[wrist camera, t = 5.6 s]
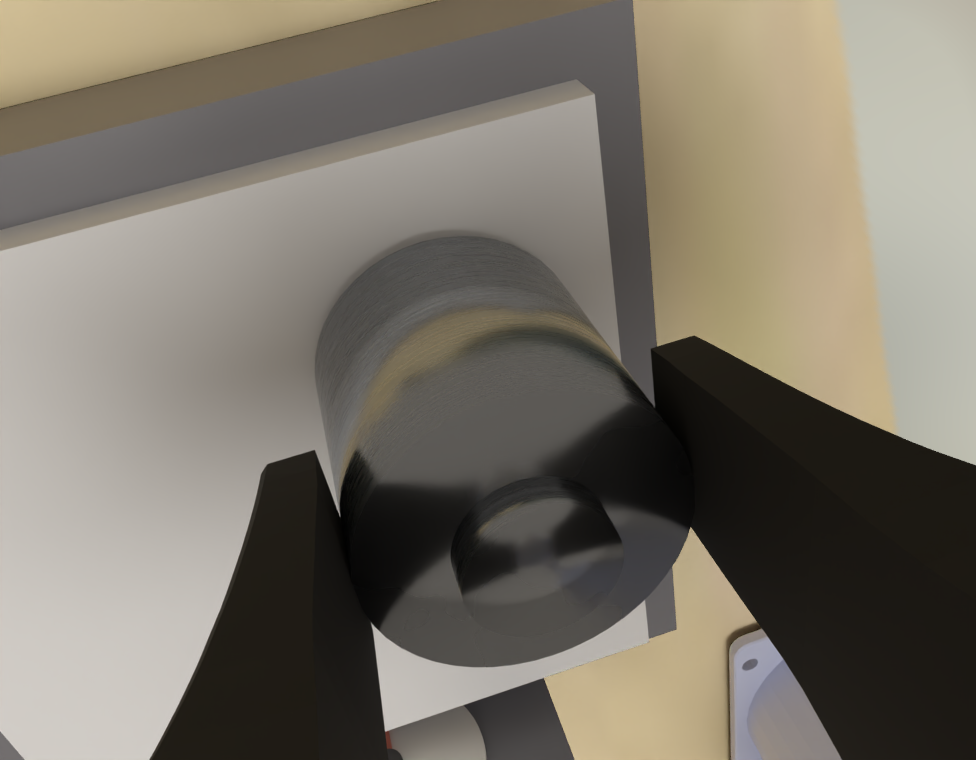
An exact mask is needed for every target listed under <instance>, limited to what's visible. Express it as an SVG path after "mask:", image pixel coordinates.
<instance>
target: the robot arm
mask: <svg viewBox="0 0 976 760" xmlns="http://www.w3.org/2000/svg"><path fill="white" fill-rule="evenodd" d="M651 361H652V375H653V388H654V402H655V409H656V410H657V411H658V413H659V414H660V416H661V417H662V418H663V420H664V421H665V422H666V424H667V425H668V426H669V428H670V429H671V430H672V432H673V433H674V434H675V436H676V437H677V438H678V440H679V441H680V443H681V445H682V447H683V449H684V450H685V452H686V454H687V456H688V459H689V462H690V465H691V468H692V471H693V477H694V489H695V507H694V513H693V519H692V523H691V527H692V529H693V530H694V532H695V533H696V535H697V536H698V538H699V539H700V541H701V542H702V544H703V545H704V546H705V548H706V549H707V551H708V552H709V554H710V555H711V557H712V558H713V560H714V561H715V562H716V564H717V565H718V567H719V568H720V570H721V571H722V573H723V574H724V575H725V577H726V578H727V580H728V581H729V582H730V584H731V585H732V587H733V588H734V590H735V591H736V592H737V594H738V595H739V597H740V598H741V600H742V601H743V602H744V604H745V605H746V607H747V608H748V610H749V611H750V612H751V614H752V615H753V617H754V618H755V619H756V621H757V622H758V624H759V625H760V627H761V628H762V629H760V630H757V631H754V632H751V633H748V634H745V635H743V636H740V637H738V638H737V639H736V640H735V641H734V642H733V643H732V644H731V646H730V650H729V669H730V732H731V760H976V465H973V464H970V463H967V462H965V461H961V460H959V459H956V458H953V457H950V456H947V455H945V454H942V453H939V452H936V451H934V450H931V449H928V448H926V447H923V446H921V445H918V444H916V443H913V442H910V441H908V440H906V439H903V438H901V437H899V436H896V435H894V434H892V433H889V432H887V431H885V430H882V429H880V428H878V427H875V426H873V425H871V424H868V423H866V422H864V421H861V420H859V419H857V418H855V417H853V416H851V415H848V414H846V413H844V412H842V411H840V410H838V409H836V408H833V407H831V406H829V405H827V404H825V403H823V402H821V401H819V400H817V399H815V398H813V397H811V396H809V395H807V394H805V393H803V392H801V391H799V390H797V389H795V388H793V387H791V386H789V385H787V384H785V383H783V382H781V381H780V380H778V379H776V378H774V377H772V376H770V375H768V374H766V373H764V372H762V371H761V370H759V369H757V368H755V367H753V366H751V365H749V364H747V363H746V362H744V361H742V360H740V359H738V358H736V357H734V356H733V355H731V354H729V353H727V352H725V351H723V350H721V349H719V348H718V347H716V346H714V345H712V344H710V343H708V342H706V341H704V340H702V339H700V338H698V337H696V336H691V337H688V338H685V339H681V340H678V341H675V342H671V343H668V344H665V345H661V346H658V347H655V348H651ZM149 760H388V752H387V743H386V735H385V726H384V718H383V709H382V701H381V692H380V684H379V676H378V667H377V659H376V651H375V643H374V635H373V629H372V624H371V621H370V620H369V619H368V617H367V616H366V615H365V613H364V611H363V609H362V607H361V605H360V603H359V600H358V597H357V595H356V592H355V589H354V587H353V583H352V579H351V573H350V567H349V562H348V556H347V551H346V545H345V540H344V534H343V529H342V524H341V518H340V516H339V513H338V510H337V508H336V505H335V502H334V500H333V497H332V494H331V491H330V489H329V486H328V483H327V481H326V478H325V475H324V473H323V470H322V467H321V465H320V462H319V459H318V457H317V454H316V451H315V450H312V451H309V452H306V453H302V454H299V455H296V456H292V457H289V458H286V459H282V460H279V461H276V462H272V463H269V464H267V465H266V467H265V468H264V470H263V471H262V473H261V476H260V481H259V486H258V491H257V495H256V499H255V503H254V507H253V511H252V514H251V518H250V522H249V525H248V529H247V532H246V535H245V539H244V542H243V545H242V549H241V552H240V555H239V557H238V560H237V563H236V566H235V569H234V572H233V575H232V578H231V581H230V584H229V587H228V590H227V592H226V595H225V598H224V601H223V603H222V606H221V609H220V611H219V614H218V616H217V618H216V621H215V623H214V626H213V628H212V630H211V633H210V635H209V638H208V640H207V643H206V645H205V647H204V650H203V652H202V655H201V657H200V659H199V662H198V664H197V666H196V669H195V671H194V673H193V675H192V677H191V679H190V682H189V684H188V686H187V688H186V690H185V692H184V694H183V696H182V698H181V700H180V702H179V704H178V707H177V709H176V710H175V712H174V714H173V716H172V718H171V720H170V722H169V724H168V726H167V728H166V730H165V732H164V734H163V736H162V737H161V739H160V741H159V743H158V745H157V747H156V749H155V750H154V752H153V754H152V756H151V757H150V759H149Z"/></svg>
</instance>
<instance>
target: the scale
mask: <svg viewBox="0 0 976 760" xmlns="http://www.w3.org/2000/svg"><path fill="white" fill-rule="evenodd" d="M453 236H476V237H484V238H490V239H496V240H499V241H502V242H505V243H509V244H512V245H514V246H516V247H518V248H520V249H523V250H525V251H527V252H529V253H530V254H532V255H533V256H535V257H536V258H538V259H539V260H541V261H542V262H543V263H544V264H545V265H546V266H547V267H549V268H550V269H551V270H552V271H553V272H554V274H555V275H556V276H557V277H558V278H559V280H560V281H561V282H562V283H563V285H564V286H565V287H566V289H567V290H568V291H569V293H570V294H571V295H572V297H573V298H574V300H575V301H576V302H577V304H578V305H579V306H580V308H581V309H582V310H583V312H584V313H585V314H586V316H587V317H588V318H589V320H590V321H591V322H592V324H593V325H594V327H595V328H596V329H597V331H598V332H599V333H600V335H601V336H602V337H603V339H604V340H605V341H606V343H607V344H608V345H609V347H610V348H611V349H612V351H613V352H614V353H615V355H616V356H617V358H618V359H619V360H620V362H621V363H622V364H623V366H624V367H625V368H626V370H627V371H628V372H629V374H630V375H631V376H632V378H633V379H634V380H635V382H636V383H637V385H638V386H639V387H640V389H641V390H642V391H643V393H644V394H645V395H646V397H647V398H648V399H649V401H650V402H651V403H652V405H653V406H654V407H655V402H654V388H653V375H652V361H651V348H655V347H657V343H656V328H655V314H654V300H653V285H652V271H651V257H650V242H649V228H648V214H647V200H646V185H645V171H644V157H643V142H642V128H641V114H640V99H639V85H638V71H637V56H636V42H635V28H634V14H633V0H441V1H437V2H433V3H429V4H425V5H420V6H416V7H412V8H408V9H404V10H400V11H396V12H392V13H388V14H384V15H380V16H376V17H372V18H368V19H364V20H360V21H356V22H352V23H348V24H344V25H339V26H335V27H331V28H327V29H323V30H319V31H315V32H311V33H307V34H303V35H299V36H295V37H291V38H287V39H283V40H279V41H275V42H271V43H267V44H263V45H259V46H254V47H250V48H246V49H242V50H238V51H234V52H230V53H226V54H222V55H218V56H214V57H210V58H206V59H202V60H198V61H194V62H190V63H186V64H182V65H178V66H173V67H169V68H165V69H161V70H157V71H153V72H149V73H145V74H141V75H137V76H133V77H129V78H125V79H121V80H117V81H113V82H109V83H105V84H101V85H97V86H92V87H88V88H84V89H80V90H76V91H72V92H68V93H64V94H60V95H56V96H52V97H48V98H44V99H40V100H36V101H32V102H28V103H24V104H20V105H16V106H12V107H7V108H3V109H0V760H149V759H150V757H151V756H152V754H153V752H154V750H155V749H156V747H157V745H158V743H159V741H160V739H161V737H162V736H163V734H164V732H165V730H166V728H167V726H168V724H169V722H170V720H171V718H172V716H173V714H174V712H175V710H176V709H177V707H178V704H179V702H180V700H181V698H182V696H183V694H184V692H185V690H186V688H187V686H188V684H189V682H190V679H191V677H192V675H193V673H194V671H195V669H196V666H197V664H198V662H199V659H200V657H201V655H202V652H203V650H204V647H205V645H206V643H207V640H208V638H209V635H210V633H211V630H212V628H213V626H214V623H215V621H216V618H217V616H218V614H219V611H220V609H221V606H222V603H223V601H224V598H225V595H226V592H227V590H228V587H229V584H230V581H231V578H232V575H233V572H234V569H235V566H236V563H237V560H238V557H239V555H240V552H241V549H242V545H243V542H244V539H245V535H246V532H247V529H248V525H249V522H250V518H251V514H252V511H253V507H254V503H255V499H256V495H257V491H258V486H259V481H260V476H261V473H262V471H263V470H264V468H265V467H266V465H267V464H269V463H272V462H276V461H279V460H282V459H286V458H289V457H292V456H296V455H299V454H302V453H306V452H309V451H312V450H315V451H316V454H317V457H318V459H319V462H320V465H321V467H322V470H323V473H324V475H325V478H326V481H327V483H328V486H329V489H330V491H331V494H332V497H333V500H334V502H335V505H336V508H337V510H338V513H339V508H338V503H337V497H336V492H335V486H334V481H333V475H332V470H331V465H330V459H329V454H328V448H327V443H326V437H325V432H324V427H323V421H322V416H321V410H320V405H319V399H318V394H317V389H316V381H315V354H316V349H317V344H318V339H319V337H320V334H321V331H322V328H323V325H324V323H325V321H326V319H327V317H328V315H329V313H330V311H331V309H332V308H333V306H334V305H335V303H336V302H337V301H338V299H339V298H340V296H341V295H342V294H343V292H344V291H345V290H346V289H347V288H348V287H349V286H350V285H351V284H352V283H353V281H354V280H355V279H356V278H358V277H359V276H360V275H361V274H362V273H364V272H365V271H366V270H367V269H368V268H370V267H371V266H372V265H374V264H376V263H377V262H379V261H380V260H382V259H383V258H385V257H386V256H388V255H390V254H393V253H395V252H397V251H399V250H401V249H403V248H405V247H408V246H411V245H414V244H417V243H420V242H423V241H427V240H432V239H437V238H442V237H453ZM339 516H340V514H339ZM371 624H372V623H371ZM372 629H373V635H374V643H375V651H376V659H377V667H378V676H379V684H380V692H381V701H382V709H383V718H384V726H385V735H386V743H387V752H388V760H574V757H573V754H572V752H571V749H570V747H569V744H568V741H567V739H566V736H565V733H564V731H563V728H562V725H561V723H560V720H559V717H558V715H557V712H556V710H555V707H554V704H553V702H552V699H551V696H550V694H549V691H548V688H547V686H546V683H545V681H544V678H545V677H548V676H551V675H554V674H557V673H560V672H562V671H565V670H568V669H571V668H574V667H577V666H580V665H583V664H586V663H589V662H592V661H595V660H598V659H601V658H604V657H607V656H610V655H613V654H616V653H618V652H621V651H624V650H627V649H630V648H633V647H636V646H639V645H642V644H645V643H648V642H649V639H650V638H653V637H656V636H658V635H661V634H664V633H667V632H670V631H673V630H676V615H675V600H674V586H673V572H672V567H671V569H670V571H669V572H668V573H667V575H666V576H665V577H664V579H663V580H662V581H661V582H660V584H659V585H658V586H657V587H656V589H655V590H654V591H653V592H652V593H651V594H650V595H649V596H648V597H647V598H646V599H645V600H644V601H643V602H642V603H641V604H640V605H639V606H637V607H636V608H635V609H634V610H633V611H632V612H631V613H629V614H628V615H627V616H626V617H624V618H623V619H621V620H620V621H619V622H617V623H616V624H615V625H613V626H612V627H610V628H609V629H607V630H605V631H604V632H602V633H600V634H599V635H597V636H595V637H594V638H592V639H590V640H588V641H586V642H584V643H582V644H580V645H577V646H575V647H573V648H571V649H568V650H566V651H563V652H560V653H558V654H555V655H552V656H549V657H545V658H542V659H539V660H535V661H531V662H526V663H521V664H516V665H509V666H500V667H463V666H453V665H448V664H443V663H438V662H434V661H431V660H428V659H425V658H422V657H419V656H416V655H414V654H412V653H410V652H408V651H406V650H404V649H402V648H400V647H399V646H397V645H396V644H394V643H393V642H392V641H390V640H389V639H387V638H386V637H385V636H384V635H383V634H382V633H381V632H380V631H379V630H378V629H376V628H375V627H374V625H373V624H372Z"/></svg>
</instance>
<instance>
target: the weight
mask: <svg viewBox="0 0 976 760" xmlns="http://www.w3.org/2000/svg"><path fill="white" fill-rule="evenodd" d="M315 381H316V389H317V394H318V399H319V405H320V410H321V416H322V421H323V427H324V432H325V437H326V443H327V448H328V454H329V459H330V465H331V470H332V475H333V481H334V486H335V492H336V497H337V503H338V508H339V514H340V518H341V524H342V529H343V534H344V540H345V545H346V551H347V556H348V562H349V567H350V573H351V579H352V583H353V587H354V589H355V592H356V595H357V597H358V600H359V603H360V605H361V607H362V609H363V611H364V613H365V615H366V616H367V617H368V619H369V620H370V621H371V623H372V624H373V625H374V627H375V628H376V629H378V630H379V631H380V632H381V633H382V634H383V635H384V636H385V637H386V638H387V639H389V640H390V641H392V642H393V643H394V644H396V645H397V646H399V647H400V648H402V649H404V650H406V651H408V652H410V653H412V654H414V655H416V656H419V657H422V658H425V659H428V660H431V661H434V662H438V663H443V664H448V665H453V666H463V667H500V666H509V665H516V664H521V663H526V662H531V661H535V660H539V659H542V658H545V657H549V656H552V655H555V654H558V653H560V652H563V651H566V650H568V649H571V648H573V647H575V646H577V645H580V644H582V643H584V642H586V641H588V640H590V639H592V638H594V637H595V636H597V635H599V634H600V633H602V632H604V631H605V630H607V629H609V628H610V627H612V626H613V625H615V624H616V623H617V622H619V621H620V620H621V619H623V618H624V617H626V616H627V615H628V614H629V613H631V612H632V611H633V610H634V609H635V608H636V607H637V606H639V605H640V604H641V603H642V602H643V601H644V600H645V599H646V598H647V597H648V596H649V595H650V594H651V593H652V592H653V591H654V590H655V589H656V587H657V586H658V585H659V584H660V582H661V581H662V580H663V579H664V577H665V576H666V575H667V573H668V572H669V571H670V569H671V567H672V566H673V564H674V562H675V561H676V559H677V558H678V556H679V554H680V552H681V550H682V548H683V545H684V543H685V541H686V539H687V536H688V533H689V530H690V527H691V523H692V519H693V513H694V507H695V489H694V477H693V471H692V468H691V465H690V462H689V459H688V456H687V454H686V452H685V450H684V449H683V447H682V445H681V443H680V441H679V440H678V438H677V437H676V436H675V434H674V433H673V432H672V430H671V429H670V428H669V426H668V425H667V424H666V422H665V421H664V420H663V418H662V417H661V416H660V414H659V413H658V411H657V410H656V409H655V407H654V406H653V405H652V403H651V402H650V401H649V399H648V398H647V397H646V395H645V394H644V393H643V391H642V390H641V389H640V387H639V386H638V385H637V383H636V382H635V380H634V379H633V378H632V376H631V375H630V374H629V372H628V371H627V370H626V368H625V367H624V366H623V364H622V363H621V362H620V360H619V359H618V358H617V356H616V355H615V353H614V352H613V351H612V349H611V348H610V347H609V345H608V344H607V343H606V341H605V340H604V339H603V337H602V336H601V335H600V333H599V332H598V331H597V329H596V328H595V327H594V325H593V324H592V322H591V321H590V320H589V318H588V317H587V316H586V314H585V313H584V312H583V310H582V309H581V308H580V306H579V305H578V304H577V302H576V301H575V300H574V298H573V297H572V295H571V294H570V293H569V291H568V290H567V289H566V287H565V286H564V285H563V283H562V282H561V281H560V280H559V278H558V277H557V276H556V275H555V274H554V272H553V271H552V270H551V269H550V268H549V267H547V266H546V265H545V264H544V263H543V262H542V261H541V260H539V259H538V258H536V257H535V256H533V255H532V254H530V253H529V252H527V251H525V250H523V249H520V248H518V247H516V246H514V245H512V244H509V243H505V242H502V241H499V240H496V239H490V238H484V237H476V236H453V237H442V238H437V239H432V240H427V241H423V242H420V243H417V244H414V245H411V246H408V247H405V248H403V249H401V250H399V251H397V252H395V253H393V254H390V255H388V256H386V257H385V258H383V259H382V260H380V261H379V262H377V263H376V264H374V265H372V266H371V267H370V268H368V269H367V270H366V271H365V272H364V273H362V274H361V275H360V276H359V277H358V278H356V279H355V280H354V281H353V283H352V284H351V285H350V286H349V287H348V288H347V289H346V290H345V291H344V292H343V294H342V295H341V296H340V298H339V299H338V301H337V302H336V303H335V305H334V306H333V308H332V309H331V311H330V313H329V315H328V317H327V319H326V321H325V323H324V325H323V328H322V331H321V334H320V337H319V339H318V344H317V349H316V354H315Z"/></svg>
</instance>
